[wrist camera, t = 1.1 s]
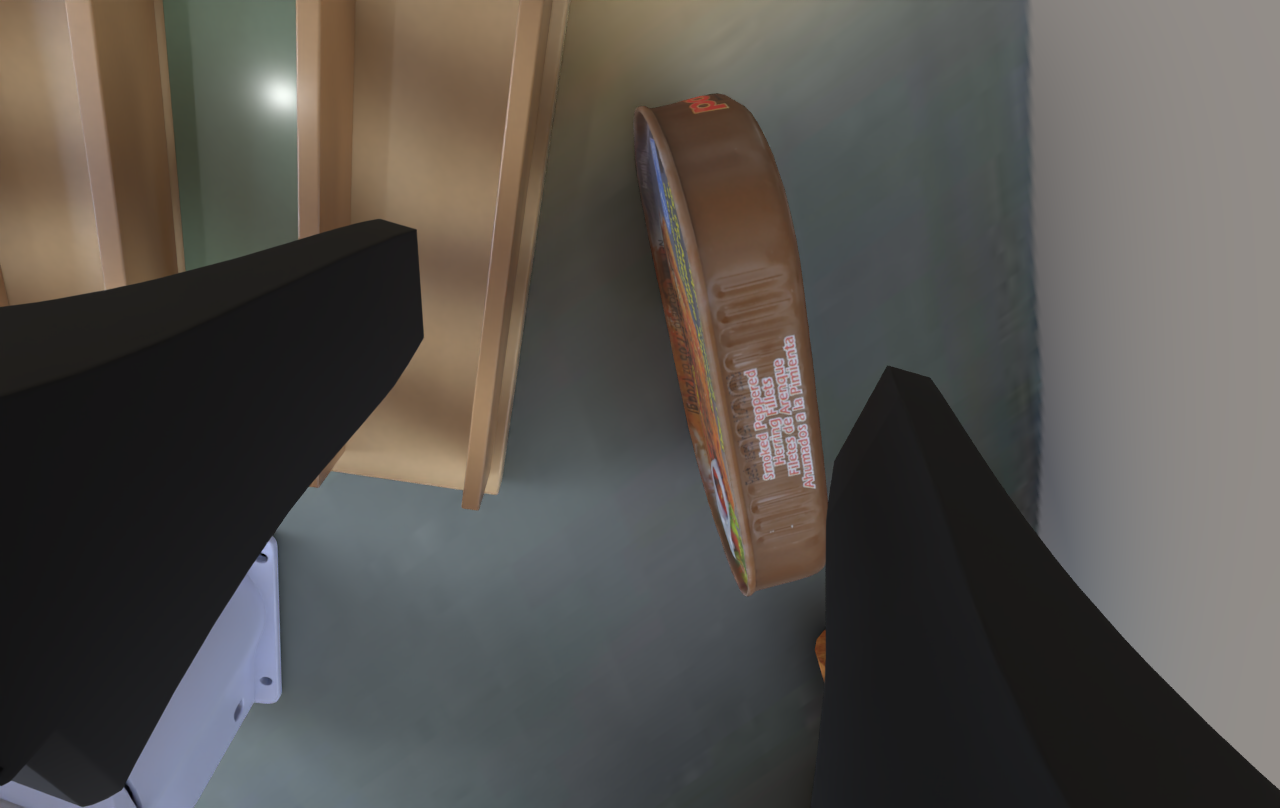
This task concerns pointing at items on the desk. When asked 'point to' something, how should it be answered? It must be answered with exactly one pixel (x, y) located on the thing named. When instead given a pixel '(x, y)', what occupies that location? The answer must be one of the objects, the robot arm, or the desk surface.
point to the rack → (296, 173)
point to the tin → (737, 331)
